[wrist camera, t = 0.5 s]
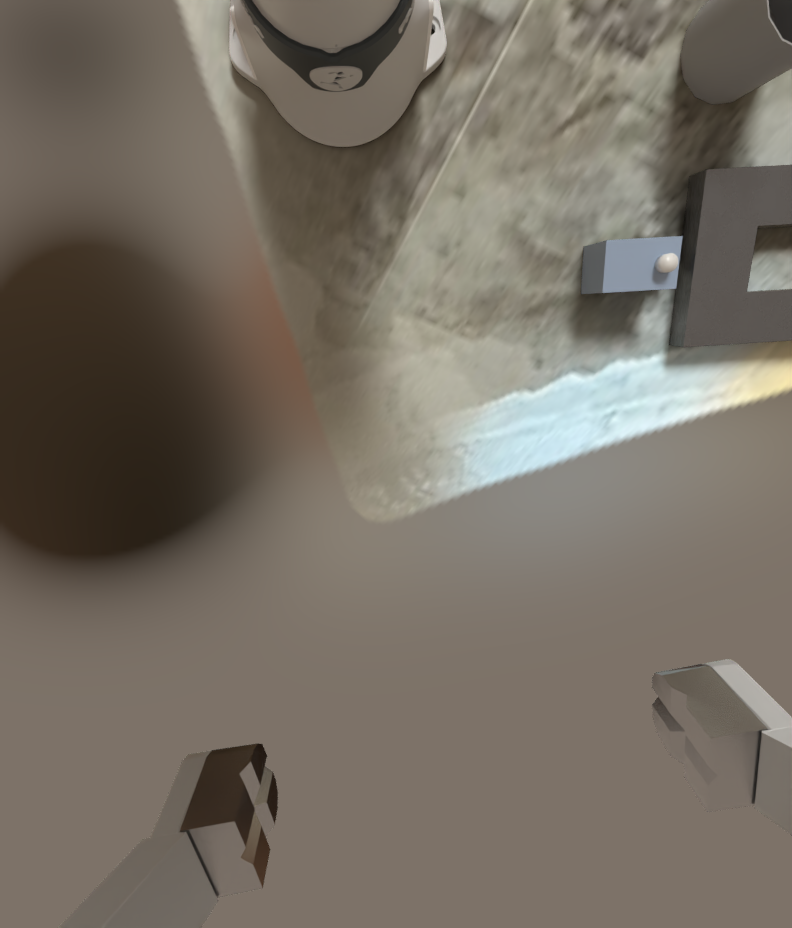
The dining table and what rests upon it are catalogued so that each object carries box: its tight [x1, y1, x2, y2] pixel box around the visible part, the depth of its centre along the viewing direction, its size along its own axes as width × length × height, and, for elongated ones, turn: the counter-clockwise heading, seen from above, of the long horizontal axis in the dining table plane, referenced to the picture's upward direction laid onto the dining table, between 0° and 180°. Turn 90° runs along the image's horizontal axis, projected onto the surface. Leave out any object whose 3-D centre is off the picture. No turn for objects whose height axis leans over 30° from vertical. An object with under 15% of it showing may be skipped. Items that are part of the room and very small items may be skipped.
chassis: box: [669, 165, 792, 347], centre depth 48 cm, size 16×20×2 cm
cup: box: [680, 0, 792, 105], centre depth 39 cm, size 8×8×10 cm
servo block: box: [581, 236, 683, 294], centre depth 46 cm, size 4×8×6 cm, turn 93°
